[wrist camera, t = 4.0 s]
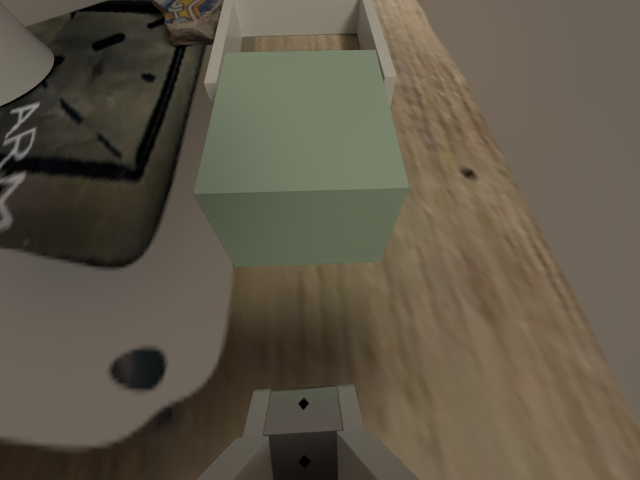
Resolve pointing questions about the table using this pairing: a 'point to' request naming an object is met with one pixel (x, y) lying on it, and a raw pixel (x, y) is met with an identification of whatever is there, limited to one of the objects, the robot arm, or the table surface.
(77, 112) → the table surface
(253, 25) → the box
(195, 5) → the ceramic tile fragment
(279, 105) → the block
